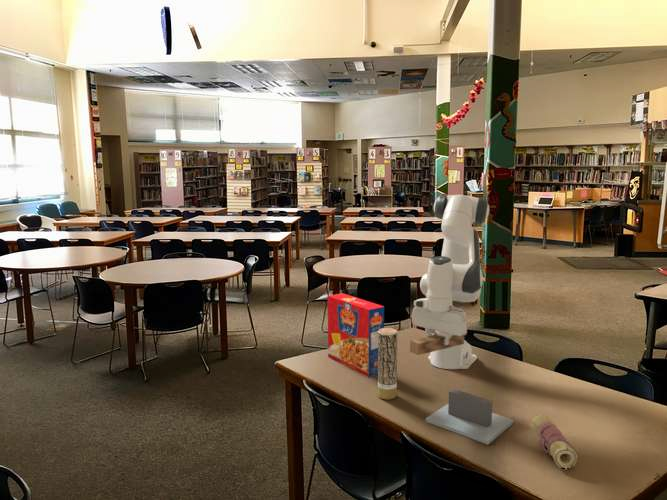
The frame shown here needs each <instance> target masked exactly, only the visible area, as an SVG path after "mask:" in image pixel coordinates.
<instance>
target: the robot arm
mask: <svg viewBox="0 0 667 500" xmlns="http://www.w3.org/2000/svg"><path fill="white" fill-rule="evenodd" d="M433 203H434V204H433V212H434V216H435V217H436V219H438V220H441V227H440V228H441V232H442V234H443V236H444V238H443V243H442V249H441V255H440V256H439V255H438V256H434V257H432V258H430V259H429V262H428V267H427V272H426V273H425V274H423V275H422V277H421V279H420V282H419V288H420V291H421V293H422V295H424V296H425V297H423V298H418V299H416V300H414V301H413V306H414V307H413V309H412V312H411V313H412V314H411V323H412V325H413V326H415V327H420V328H424V331H425V334H426V335H427V336H426V337H428V336H433V335H437V334H442V333H445V335H446V336H447V337H446V338H445V339H443V343H442V344H444V345H448V344H449V339H450V338H451V336H452V334H453V335H457V336H462V335H464V336H467V334H468V329H467V328H468V327H467V312H466V310H464V309H463V308H462V307H456V306H454V305H453V301H454V302H460V303H470V302H476V301H477V300H478V298H479V297H480V295H481V292H482V286H483V281H484V277H483V272H482V267H481V250H480V249H481V248H480V238H479V232H478V231H477V230H476V229H474V228H477V227H478V226H479V225H482V224H483V223H484V222H486V220H487V219H488V217H489V214H490V206H489V202H488V200H487V199H485V198H482V197H475V196H470V195H465V194H460V193H459V194H447V193H445V194H440V195H438V196H437V198H436V200H435V201H434V202H433ZM473 224H475V225H474V228H473V226H472V225H473ZM432 330H433V334H432ZM427 359H428V361H429V362H430V364H431V365H432V366H434V367H437V368H439V369H444V370H459V369H460V370H467V369H469V368H470V367H471V366H472V364H473V363H474V362H475V361H476V360H477V359H478V356H477V355H475V354H474V353H472V345H471V344H470V343H468V342H467V340H465V339H464V344H462V345H458V346H453V347H449V348H445V349H441V350H437V351H433V352H430V354H429V355H428V356H427Z"/></svg>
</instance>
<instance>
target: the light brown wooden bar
mask: <svg viewBox="0 0 667 500" xmlns="http://www.w3.org/2000/svg"><path fill="white" fill-rule="evenodd" d="M432 335H433V336H424V337H420V338H416V339H412V340H410V344H409V345H410V346H409V352H410V353H412V354H415V355H417V356H421V355H425V354H428V353H431V352H433V351H437V350H441V349H445V348H449V347H453V346H458V345H462V344H464V340H465V335H462V336H457V335H453V334H452V336H451V338H450V339H449V344H448V345H444V344H442V343H443V339H445V338H446V337H447V336H446V335H445V333H442V334H437V335H434V334H432Z"/></svg>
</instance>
